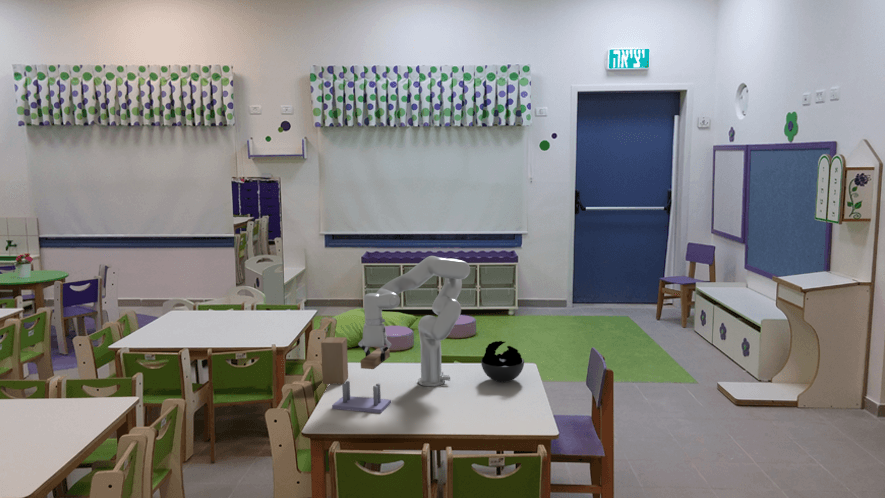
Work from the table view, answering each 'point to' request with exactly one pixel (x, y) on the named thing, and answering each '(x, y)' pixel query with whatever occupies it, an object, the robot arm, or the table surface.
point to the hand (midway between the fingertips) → (375, 360)
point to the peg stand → (361, 401)
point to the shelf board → (373, 359)
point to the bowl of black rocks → (502, 363)
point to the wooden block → (334, 360)
